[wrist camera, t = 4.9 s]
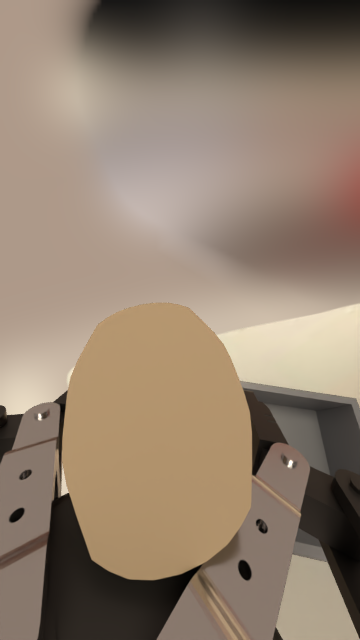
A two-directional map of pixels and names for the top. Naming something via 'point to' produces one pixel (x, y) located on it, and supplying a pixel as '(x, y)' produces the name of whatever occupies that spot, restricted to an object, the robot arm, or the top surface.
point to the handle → (156, 443)
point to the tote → (315, 437)
